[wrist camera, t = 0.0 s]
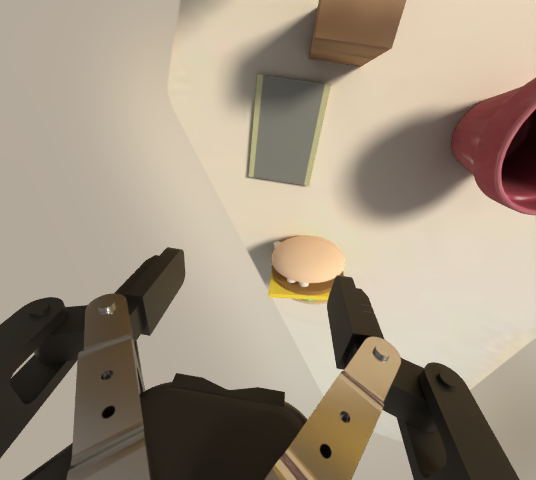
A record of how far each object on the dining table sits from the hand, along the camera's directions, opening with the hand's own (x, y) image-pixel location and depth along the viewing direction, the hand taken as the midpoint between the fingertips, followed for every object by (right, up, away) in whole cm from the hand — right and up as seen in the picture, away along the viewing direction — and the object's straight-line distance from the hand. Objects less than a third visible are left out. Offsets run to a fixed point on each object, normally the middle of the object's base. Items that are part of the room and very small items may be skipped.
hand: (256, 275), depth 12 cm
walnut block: (+10, +27, +17) cm, 34 cm away
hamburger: (+8, +1, +33) cm, 34 cm away
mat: (+3, +18, +23) cm, 30 cm away
